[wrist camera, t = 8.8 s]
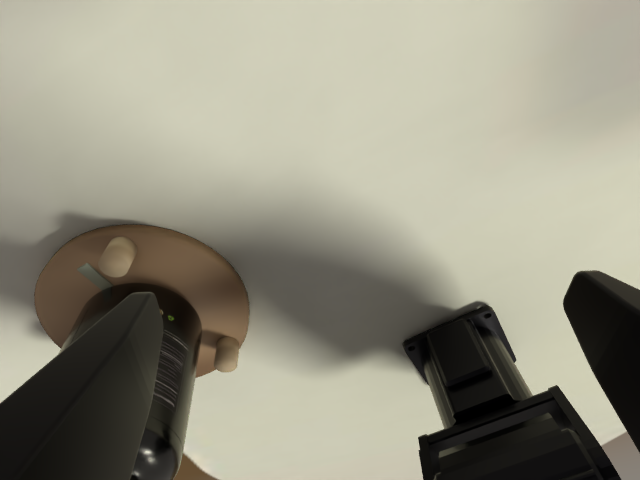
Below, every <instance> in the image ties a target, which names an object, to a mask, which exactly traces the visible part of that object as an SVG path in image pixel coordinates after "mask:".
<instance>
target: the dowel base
mask: <svg viewBox="0 0 640 480" xmlns="http://www.w3.org/2000/svg"><path fill="white" fill-rule="evenodd" d="M124 283H148V284H154V285H158V286H162V287H164V288H167V289H169V290H172V291H174V292H176V293H177V294H179V295H181V296H182V297H183V298H185V299H186V300H187V301H188V302H189V303H190V304H191V305H192V306H193V307H194V309H195V310H196V312H197V313H198V315H199V317H200V320H201V324H202V338H201V345H200V352H199V358H198V364H197V370H196V376H195V378H197V377H200V376H203V375H205V374H208V373H210V372H212V371H214V370H216V369H217V370H218V371H221V372H231V371H233V370H235V369H236V368H237V363H238V353H239V349H240V347H241V345H242V343H243V342H244V340H245V337H246V334H247V329H248V323H249V299H248V295H247V291H246V289H245V286H244V284H243V282H242V280H241V279H240V277H239V275H238V274H237V272H236V271H235V270H234V269H233V267H232V266H231V265H230V264H229V263H228V262H227V261H226V260H225V259H224V258H223V257H222V256H221V255H219V254H218V253H217V252H215V251H214V250H213V249H211V248H210V247H208V246H206V245H205V244H203V243H201V242H200V241H198V240H196V239H193V238H191V237H189V236H187V235H184V234H181V233H178V232H175V231H172V230H169V229H164V228H160V227H155V226H147V225H115V226H108V227H103V228H98V229H95V230H92V231H89V232H86V233H83V234H81V235H79V236H78V237H76V238H74V239H72V240H70V241H69V242H68V243H66V244H65V245H64V246H62V247H61V248H60V249H59V250H58V251H57V252H56V253H55V254H54V256H53V257H52V258H51V260H50V261H49V262H48V264H47V265H46V266H45V268H44V269H43V271H42V272H41V274H40V276H39V279H38V281H37V284H36V288H35V294H34V296H35V308H36V312H37V316H38V318H39V320H40V323H41V325H42V326H43V328H44V330H45V331H46V333H47V334H48V335H49V337H50V338H51V339H52V340H53V341H54V343H55V344H56V345H58V346H59V347H60V348H62V346H63V344H64V342H65V340H66V338H67V336H68V335H69V333H70V331H71V329H72V327H73V325H74V323H75V321H76V319H77V317H78V315H79V314H80V312H81V310H82V308H83V307H84V305H85V304H86V303H87V301H88V300H89V299H90V298H92V297H93V296H94V295H95V294H97V293H98V292H100V291H102V290H104V289H106V288H108V287H111V286H114V285H119V284H124Z"/></svg>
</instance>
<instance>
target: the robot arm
mask: <svg viewBox="0 0 640 480" xmlns="http://www.w3.org/2000/svg"><path fill="white" fill-rule="evenodd" d="M563 306H564V310H565V313H566V315H567V317H568V319H569V321H570V324H571V326H572V328H573V330H574V332H575V335H576V337H577V339H578V341H579V343H580V346H581V348H582V350H583V352H584V354H585V357H586V359H587V361H588V363H589V365H590V367H591V369H592V371H593V373H594V375H595V377H596V378H597V380H598V382H599V384H600V386H601V387H602V389H603V391H604V392H605V394H606V396H607V398H608V399H609V401H610V403H611V404H612V406H613V408H614V410H615V411H616V413H617V415H618V416H619V418H620V420H621V422H622V423H623V425H624V427H625V428H626V430H627V432H628V434H629V435H630V437H631V439H632V440H633V442H634V444H635V446H636V447H637V449H638V451H639V452H640V290H638V289H636V288H634V287H632V286H630V285H628V284H626V283H624V282H622V281H619V280H617V279H615V278H613V277H611V276H609V275H607V274H605V273H602V272H600V271H596V270H592V271H580V272H577V273H576V274H575V275H574V277H573V279H572V281H571V284H570V286H569V288H568V290H567V293H566V295H565V297H564V301H563ZM162 335H163V320H162V316H161V313H160V310H159V306H158V303H157V299H156V296H155V295H154V293H152V292H136V293H132V294H130V295H129V296H128V297H126V298H125V299H124V300H123V301H122V302H120V303H119V304H118V305H117V306H116V307H114V308H113V309H112V310H111V311H110V312H109V313H107V314H106V315H105V316H104V317H103V318H101V319H100V320H99V321H98V322H97V323H95V324H94V325H93V326H92V327H91V328H89V329H88V330H87V331H86V332H85V333H84V334H82V335H81V336H80V337H79V338H78V339H76V340H75V341H74V342H73V343H72V344H70V345H69V346H68V347H67V348H66V349H64V350H63V351H62V352H61V353H60V354H59V355H57V356H56V357H55V358H54V359H53V360H51V361H50V362H49V363H48V364H47V365H45V366H44V367H43V368H42V369H41V370H39V371H38V372H37V373H36V374H35V375H34V376H32V377H31V378H30V379H29V380H28V381H26V382H25V383H24V384H23V385H22V386H20V387H19V388H18V389H17V390H16V391H14V392H13V393H12V394H11V395H10V396H9V397H7V398H6V399H5V400H4V401H3V402H1V403H0V480H130V478H131V474H132V471H133V467H134V463H135V460H136V456H137V453H138V449H139V446H140V442H141V439H142V435H143V432H144V428H145V424H146V421H147V417H148V414H149V410H150V406H151V402H152V397H153V392H154V386H155V380H156V373H157V367H158V361H159V354H160V348H161V342H162ZM403 347H404V350H405V352H406V354H407V355H408V356H409V358H410V359H411V361H412V362H413V364H414V365H415V366H416V368H417V369H418V371H419V372H420V373H421V375H422V376H423V378H424V379H425V381H426V382H427V383H428V385H429V386H430V389H431V391H432V394H433V397H434V400H435V403H436V406H437V409H438V412H439V415H440V417H441V420H442V423H443V426H444V429H443V430H440V431H438V432H435V433H432V434H430V435H427V434H425V435H422V436H420V437H418V439H419V445H420V450H419V456H420V462H421V468H422V473H423V479H424V480H621V478H620V477H619V475H618V473H617V471H616V470H615V468H614V466H613V465H612V463H611V462H610V460H609V458H608V457H607V455H606V454H605V452H604V450H603V449H602V447H601V446H600V444H599V443H598V441H597V440H596V438H595V437H594V436H593V434H592V433H591V431H590V430H589V429H588V427H587V426H586V425H585V423H584V422H583V420H582V419H581V418H580V416H579V415H578V413H577V412H576V411H575V409H574V408H573V406H572V405H571V404H570V402H569V401H568V399H567V398H566V397H565V395H564V394H563V392H562V391H561V390H560V388H559V387H558V386H557V385H556V386H553V387H551V388H548V391H545V392H542V393H540V394H537V395H534V396H533V395H532V393H531V391H530V390H529V388H528V386H527V385H526V383H525V381H524V379H523V378H522V376H521V374H520V372H519V371H518V369H517V367H516V365H515V364H514V363H515V362H516V358H515V355H514V353H513V351H512V349H511V347H510V344H509V342H508V340H507V338H506V336H505V334H504V331H503V329H502V327H501V325H500V323H499V320H498V318H497V316H496V314H495V312H494V310H493V309H492V308H491V307H490V306H485V307H482V308H480V309H478V310H475V311H473V312H471V313H468V314H466V315H464V316H461V317H459V318H457V319H454V320H452V321H450V322H448V323H445V324H443V325H441V326H438V327H436V328H434V329H431V330H429V331H427V332H424V333H422V334H420V335H418V336H415V337H413V338H411V339H408V340H406V341H405V342H404V343H403Z"/></svg>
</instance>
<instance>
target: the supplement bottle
mask: <svg viewBox="0 0 640 480" xmlns="http://www.w3.org/2000/svg"><path fill="white" fill-rule="evenodd" d="M136 292H152V293H154V295H155V296H156V299H157V303H158V306H159V310H160V313H161V316H162V320H163V335H162V342H161V348H160V354H159V361H158V367H157V373H156V380H155V386H154V392H153V397H152V402H151V406H150V410H149V414H148V417H147V421H146V424H145V428H144V432H143V435H142V439H141V442H140V446H139V449H138V453H137V456H136V460H135V463H134V467H133V471H132V474H131V478H130V480H173V479H174V477H175V476H176V474H177V472H178V469H179V467H180V464H181V459H182V454H183V449H184V443H185V437H186V431H187V425H188V419H189V413H190V407H191V400H192V394H193V388H194V382H195V376H196V370H197V364H198V358H199V352H200V345H201V338H202V324H201V320H200V317H199V315H198V313H197V312H196V310H195V309H194V307H193V306H192V305H191V304H190V303H189V302H188V301H187V300H186V299H185V298H183V297H182V296H181V295H179V294H177V293H176V292H174V291H172V290H169V289H167V288H164V287H162V286H158V285H154V284H148V283H124V284H119V285H114V286H111V287H108V288H106V289H104V290H102V291H100V292H98V293H97V294H95V295H94V296H93V297H92V298H90V299H89V300H88V301H87V303H86V304H85V305H84V307H83V308H82V310H81V312H80V314H79V315H78V317H77V319H76V321H75V323H74V325H73V327H72V329H71V331H70V333H69V335H68V336H67V338H66V340H65V342H64V344H63V346H62V348H61V350H60V352H59V354H60V353H61V352H62V351H63V350H64V349H66V348H67V347H68V346H69V345H70V344H72V343H73V342H74V341H75V340H76V339H78V338H79V337H80V336H81V335H82V334H84V333H85V332H86V331H87V330H88V329H89V328H91V327H92V326H93V325H94V324H95V323H97V322H98V321H99V320H100V319H101V318H103V317H104V316H105V315H106V314H107V313H109V312H110V311H111V310H112V309H113V308H114V307H116V306H117V305H118V304H119V303H120V302H122V301H123V300H124V299H125V298H126V297H128V296H129V295H130V294H132V293H136ZM59 354H58V355H59Z"/></svg>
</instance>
